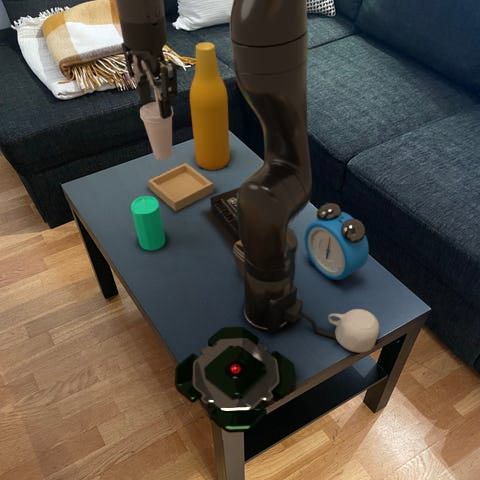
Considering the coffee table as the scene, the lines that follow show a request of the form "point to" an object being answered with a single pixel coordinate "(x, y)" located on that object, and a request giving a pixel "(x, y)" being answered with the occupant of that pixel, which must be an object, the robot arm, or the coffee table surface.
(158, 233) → the candle
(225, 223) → the black electronic device
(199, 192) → the tray
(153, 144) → the smoothie
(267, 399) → the four-lobed dark green device
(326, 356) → the coffee table surface
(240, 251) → the doughnut
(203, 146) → the beer bottle
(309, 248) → the alarm clock
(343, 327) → the teacup
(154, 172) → the coffee table surface
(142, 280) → the coffee table surface
